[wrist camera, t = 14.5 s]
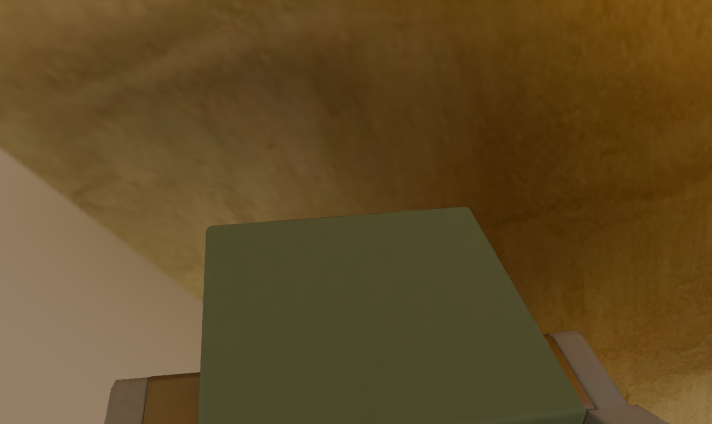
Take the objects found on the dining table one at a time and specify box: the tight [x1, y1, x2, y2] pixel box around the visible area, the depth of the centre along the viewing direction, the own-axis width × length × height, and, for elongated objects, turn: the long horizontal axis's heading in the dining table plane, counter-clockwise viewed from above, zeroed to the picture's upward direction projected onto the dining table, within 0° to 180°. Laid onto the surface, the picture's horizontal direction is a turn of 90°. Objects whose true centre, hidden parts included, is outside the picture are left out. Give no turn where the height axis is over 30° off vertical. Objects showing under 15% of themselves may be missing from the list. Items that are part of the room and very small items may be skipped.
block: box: [198, 207, 586, 424], centre depth 10 cm, size 4×4×4 cm
